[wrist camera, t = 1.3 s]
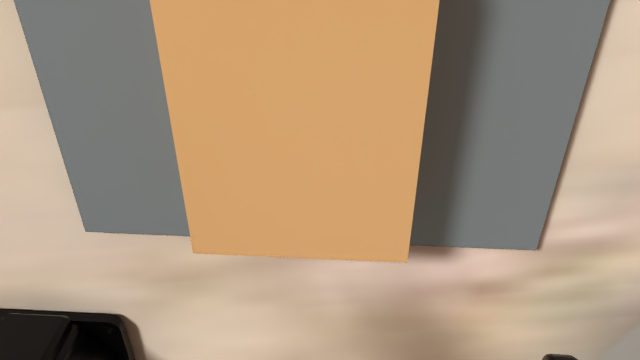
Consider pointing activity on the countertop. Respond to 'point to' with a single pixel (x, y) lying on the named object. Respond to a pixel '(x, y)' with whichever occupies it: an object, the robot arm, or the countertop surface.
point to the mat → (439, 128)
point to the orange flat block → (298, 122)
